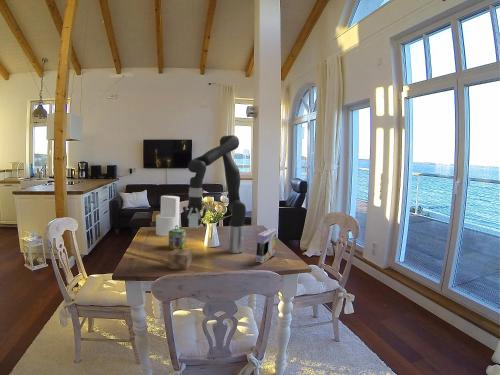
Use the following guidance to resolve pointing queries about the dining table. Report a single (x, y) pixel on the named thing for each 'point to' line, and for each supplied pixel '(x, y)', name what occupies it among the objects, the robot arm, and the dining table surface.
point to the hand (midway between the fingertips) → (194, 224)
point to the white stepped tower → (168, 215)
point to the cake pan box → (266, 245)
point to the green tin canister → (177, 238)
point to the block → (193, 221)
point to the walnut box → (180, 259)
